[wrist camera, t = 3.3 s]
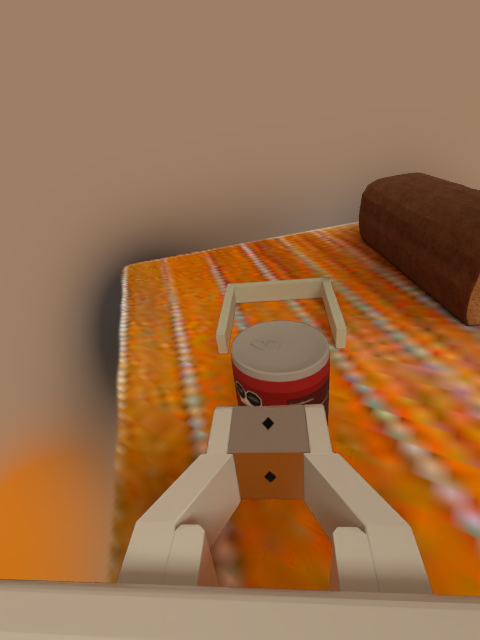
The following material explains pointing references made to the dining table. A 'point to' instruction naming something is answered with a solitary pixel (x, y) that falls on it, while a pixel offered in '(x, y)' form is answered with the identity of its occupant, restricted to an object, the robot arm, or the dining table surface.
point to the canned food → (281, 365)
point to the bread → (428, 236)
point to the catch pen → (280, 292)
